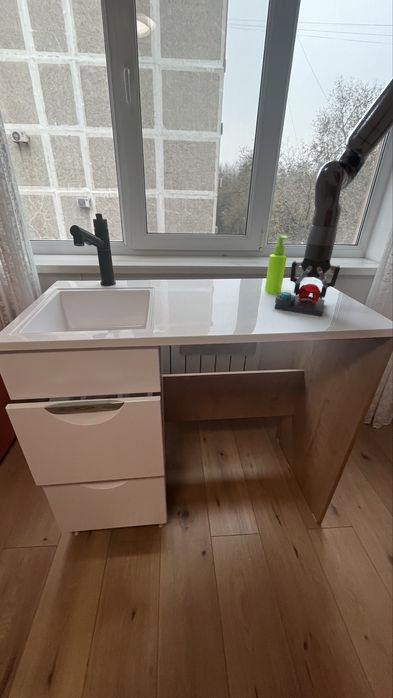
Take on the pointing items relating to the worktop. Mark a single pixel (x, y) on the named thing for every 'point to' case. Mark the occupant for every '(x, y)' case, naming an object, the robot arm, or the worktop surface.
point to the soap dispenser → (276, 267)
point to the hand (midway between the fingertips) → (308, 296)
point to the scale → (300, 305)
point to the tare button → (286, 295)
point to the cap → (308, 289)
